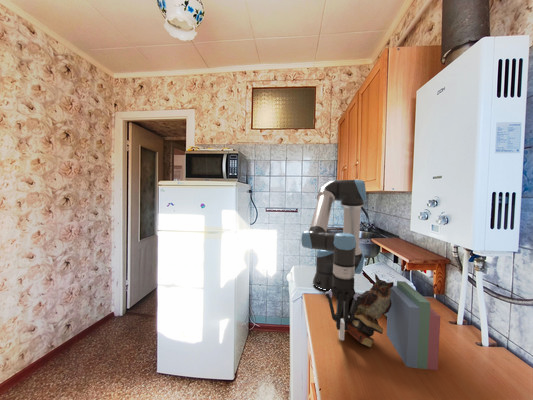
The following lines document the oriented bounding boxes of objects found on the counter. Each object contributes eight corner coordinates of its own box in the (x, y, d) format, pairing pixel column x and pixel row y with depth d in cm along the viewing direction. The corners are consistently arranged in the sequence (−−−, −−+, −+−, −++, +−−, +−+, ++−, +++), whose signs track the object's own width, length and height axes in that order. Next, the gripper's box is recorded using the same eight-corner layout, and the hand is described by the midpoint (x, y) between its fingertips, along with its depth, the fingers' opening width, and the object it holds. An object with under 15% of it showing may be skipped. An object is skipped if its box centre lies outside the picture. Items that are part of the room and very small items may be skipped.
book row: (386, 334, 84) (388, 280, 83) (411, 337, 83) (413, 282, 82) (406, 367, 68) (409, 300, 67) (437, 371, 67) (441, 303, 66)
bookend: (331, 321, 85) (355, 264, 89) (349, 328, 89) (372, 273, 92) (358, 346, 71) (386, 277, 75) (379, 353, 75) (404, 287, 78)
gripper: (326, 278, 75) (324, 342, 76) (365, 281, 73) (362, 347, 74) (324, 270, 83) (322, 329, 84) (359, 273, 81) (357, 333, 82)
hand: (341, 337), depth 79 cm, fingers closed
